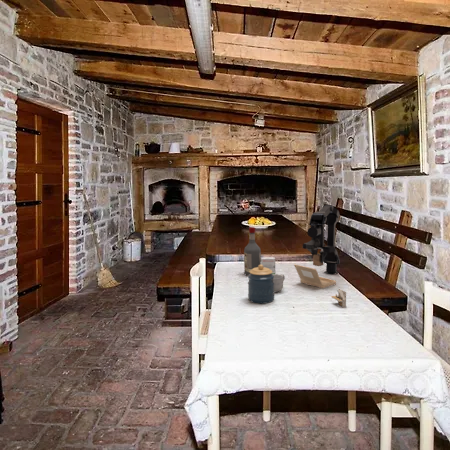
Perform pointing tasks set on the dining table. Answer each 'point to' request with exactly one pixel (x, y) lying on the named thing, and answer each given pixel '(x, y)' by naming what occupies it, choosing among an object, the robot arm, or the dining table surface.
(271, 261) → the ink box
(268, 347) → the dining table surface
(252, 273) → the canister
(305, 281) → the box
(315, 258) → the walnut block
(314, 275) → the mailer lid
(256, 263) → the liquor
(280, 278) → the teacup
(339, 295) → the architectural model
